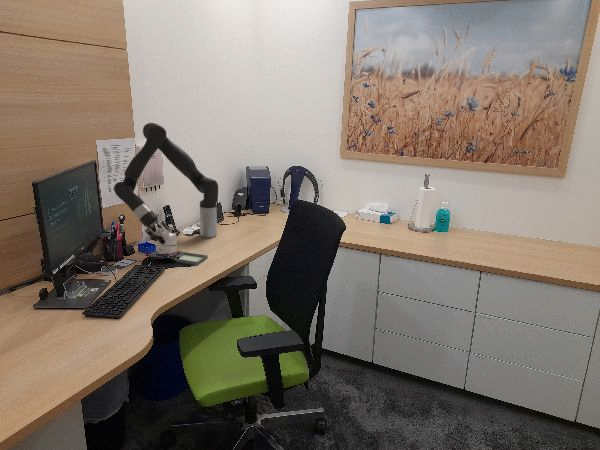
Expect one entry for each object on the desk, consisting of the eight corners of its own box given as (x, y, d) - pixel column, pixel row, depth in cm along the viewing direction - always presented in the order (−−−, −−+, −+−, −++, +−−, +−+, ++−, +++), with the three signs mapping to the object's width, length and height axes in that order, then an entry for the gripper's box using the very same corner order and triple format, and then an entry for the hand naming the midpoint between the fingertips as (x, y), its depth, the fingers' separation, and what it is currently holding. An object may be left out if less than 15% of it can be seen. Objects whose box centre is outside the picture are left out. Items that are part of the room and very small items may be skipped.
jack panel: (162, 251, 222) (161, 248, 221) (207, 258, 215) (207, 255, 215) (150, 257, 212) (149, 254, 212) (197, 265, 206) (197, 262, 205)
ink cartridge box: (177, 256, 216) (176, 228, 211) (170, 259, 212) (169, 230, 207) (164, 252, 219) (163, 225, 215) (157, 255, 215) (155, 227, 211)
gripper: (140, 213, 205) (163, 241, 205) (158, 207, 218) (180, 232, 219) (131, 223, 208) (154, 250, 208) (149, 216, 221) (171, 241, 221)
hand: (167, 241), depth 213 cm, fingers closed on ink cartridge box, 5 cm apart
